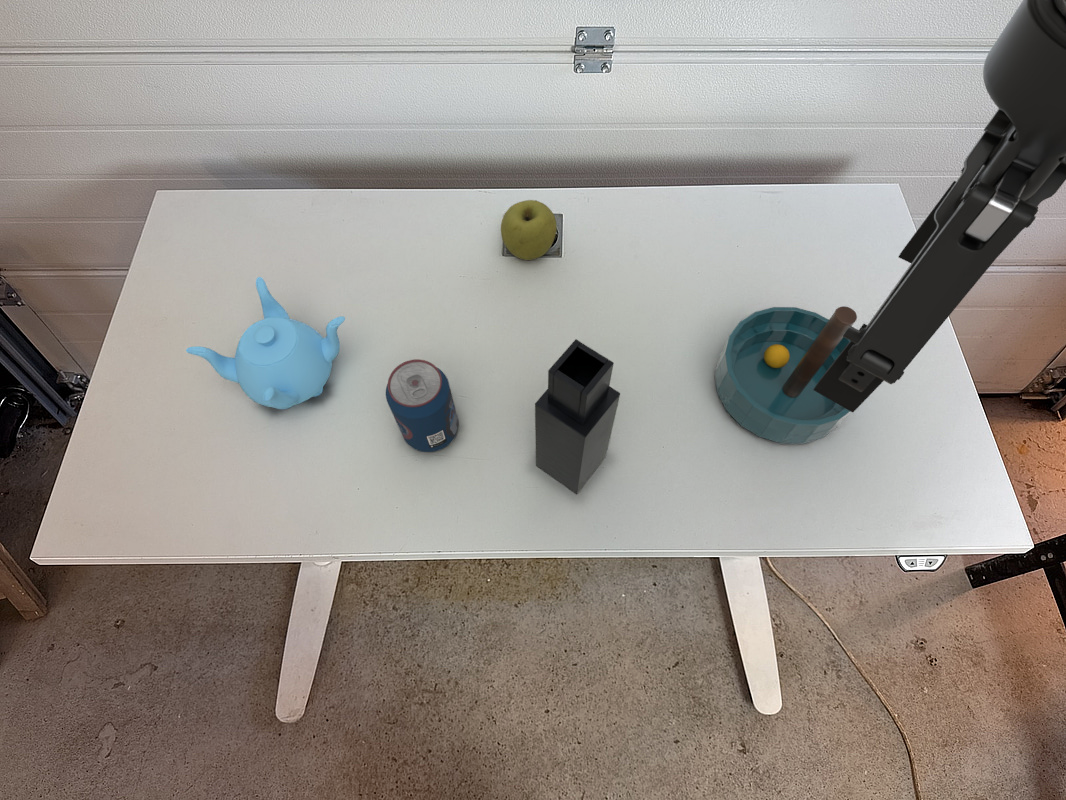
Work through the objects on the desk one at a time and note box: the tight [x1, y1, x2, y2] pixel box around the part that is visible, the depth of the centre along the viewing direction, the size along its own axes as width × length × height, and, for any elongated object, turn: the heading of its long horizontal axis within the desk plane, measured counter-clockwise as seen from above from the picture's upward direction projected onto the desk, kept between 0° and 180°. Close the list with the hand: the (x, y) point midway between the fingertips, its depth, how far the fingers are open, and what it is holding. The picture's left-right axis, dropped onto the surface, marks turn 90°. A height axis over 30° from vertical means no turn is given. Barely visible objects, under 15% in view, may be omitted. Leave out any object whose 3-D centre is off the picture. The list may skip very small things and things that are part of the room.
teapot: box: [185, 276, 346, 410], centre depth 77 cm, size 13×13×10 cm
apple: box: [500, 199, 558, 261], centre depth 88 cm, size 8×8×7 cm
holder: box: [534, 338, 621, 495], centre depth 66 cm, size 6×6×22 cm
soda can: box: [385, 358, 460, 453], centre depth 72 cm, size 7×7×12 cm
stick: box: [783, 305, 858, 398], centre depth 72 cm, size 2×2×16 cm
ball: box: [764, 344, 790, 368], centre depth 80 cm, size 3×3×3 cm
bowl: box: [714, 306, 852, 445], centre depth 77 cm, size 16×16×6 cm
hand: (878, 326), depth 43 cm, fingers open, 13 cm apart
